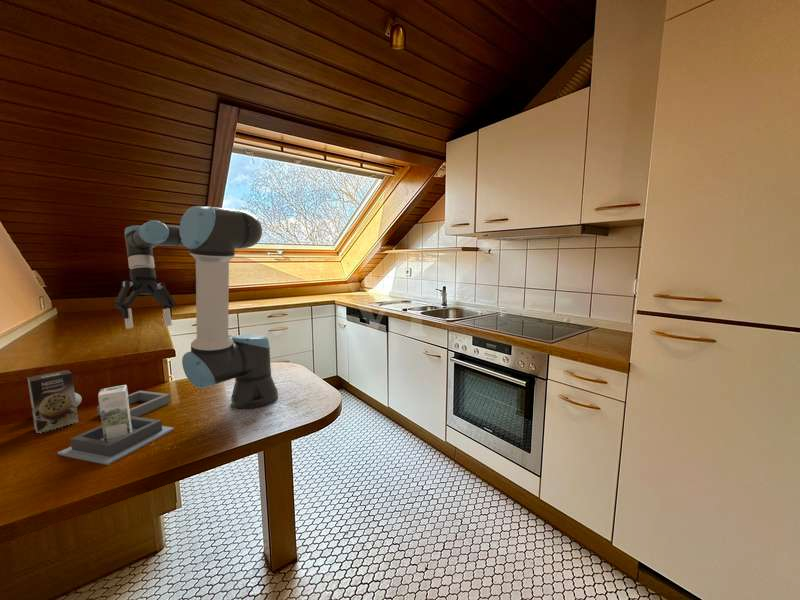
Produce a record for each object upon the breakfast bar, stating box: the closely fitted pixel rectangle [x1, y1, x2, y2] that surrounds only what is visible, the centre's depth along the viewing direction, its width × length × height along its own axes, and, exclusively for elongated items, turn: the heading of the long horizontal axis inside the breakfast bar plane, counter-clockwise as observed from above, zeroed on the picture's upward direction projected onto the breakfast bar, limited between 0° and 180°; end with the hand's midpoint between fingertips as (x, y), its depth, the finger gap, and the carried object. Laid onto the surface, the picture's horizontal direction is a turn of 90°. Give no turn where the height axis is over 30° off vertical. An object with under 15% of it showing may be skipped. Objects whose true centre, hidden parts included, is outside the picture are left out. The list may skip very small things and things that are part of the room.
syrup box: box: [97, 384, 132, 442], centre depth 95 cm, size 6×6×14 cm
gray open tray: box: [96, 390, 172, 417], centre depth 117 cm, size 14×14×3 cm
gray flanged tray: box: [57, 416, 175, 466], centre depth 96 cm, size 18×18×4 cm
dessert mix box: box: [27, 369, 80, 434], centre depth 105 cm, size 9×6×16 cm
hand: (150, 327), depth 123 cm, fingers open, 13 cm apart
